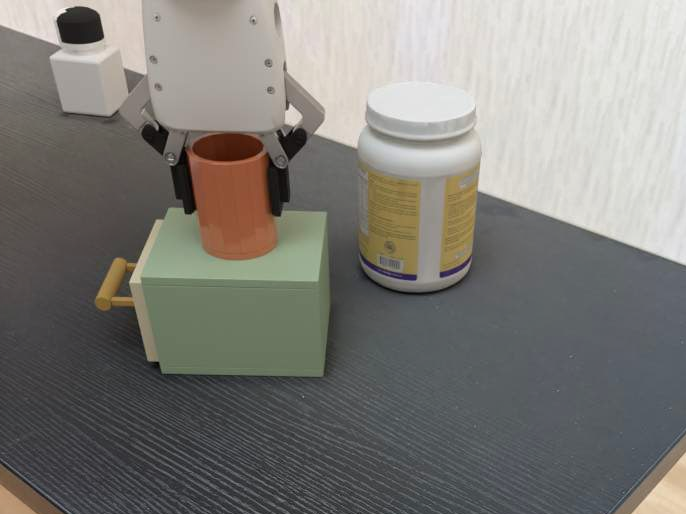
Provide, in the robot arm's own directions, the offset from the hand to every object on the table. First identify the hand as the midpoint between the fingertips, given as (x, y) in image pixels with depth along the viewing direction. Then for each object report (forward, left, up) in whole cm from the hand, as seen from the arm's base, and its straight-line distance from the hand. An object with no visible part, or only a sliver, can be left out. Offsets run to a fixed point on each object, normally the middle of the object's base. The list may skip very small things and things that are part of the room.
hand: (235, 206), depth 68 cm
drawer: (-4, 0, -12) cm, 12 cm away
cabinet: (0, 0, -13) cm, 13 cm away
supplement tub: (+16, +14, -13) cm, 25 cm away
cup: (0, 0, -3) cm, 3 cm away
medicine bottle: (-29, +58, -13) cm, 66 cm away
